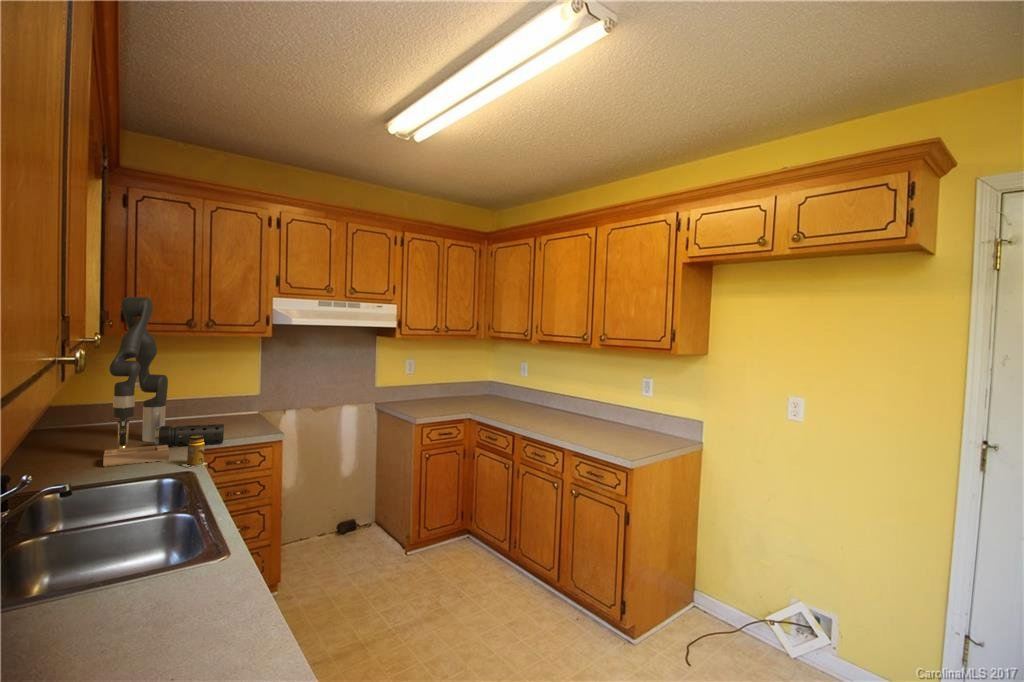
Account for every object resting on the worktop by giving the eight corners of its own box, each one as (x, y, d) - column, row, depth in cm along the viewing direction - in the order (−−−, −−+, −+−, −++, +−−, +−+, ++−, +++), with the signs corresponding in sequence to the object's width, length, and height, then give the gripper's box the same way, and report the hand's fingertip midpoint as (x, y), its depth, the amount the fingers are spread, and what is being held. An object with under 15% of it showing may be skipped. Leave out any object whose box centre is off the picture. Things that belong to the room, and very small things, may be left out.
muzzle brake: (222, 445, 244) (223, 425, 244) (153, 450, 230) (154, 428, 230) (223, 441, 252) (224, 421, 252) (156, 445, 238) (157, 424, 238)
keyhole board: (104, 460, 210) (104, 450, 209) (167, 454, 223) (167, 444, 223) (103, 467, 200) (103, 456, 200) (168, 460, 214) (169, 450, 214)
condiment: (208, 463, 212) (209, 436, 212) (187, 468, 204) (188, 439, 204) (198, 461, 215) (199, 434, 215) (177, 465, 208) (178, 437, 208)
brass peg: (115, 456, 217) (116, 424, 217) (129, 454, 220) (130, 423, 220) (115, 458, 213) (116, 426, 213) (129, 457, 216) (130, 425, 216)
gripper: (113, 403, 219) (112, 440, 219) (112, 408, 208) (111, 446, 208) (134, 403, 224) (133, 438, 224) (134, 407, 213) (133, 444, 213)
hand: (122, 442), depth 216 cm, fingers open, 8 cm apart
